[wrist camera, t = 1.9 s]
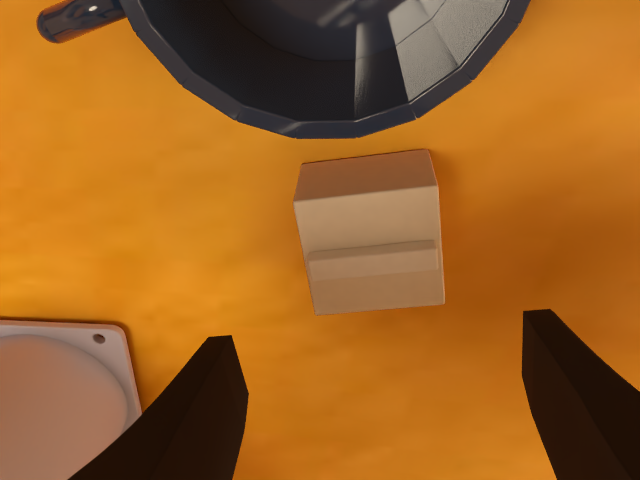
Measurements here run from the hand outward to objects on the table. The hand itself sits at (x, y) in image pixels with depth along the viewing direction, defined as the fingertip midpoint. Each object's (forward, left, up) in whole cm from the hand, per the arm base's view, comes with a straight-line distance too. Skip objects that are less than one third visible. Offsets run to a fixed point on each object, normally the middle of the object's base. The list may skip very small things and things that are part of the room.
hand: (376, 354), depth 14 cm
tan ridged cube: (0, 0, -8) cm, 8 cm away
